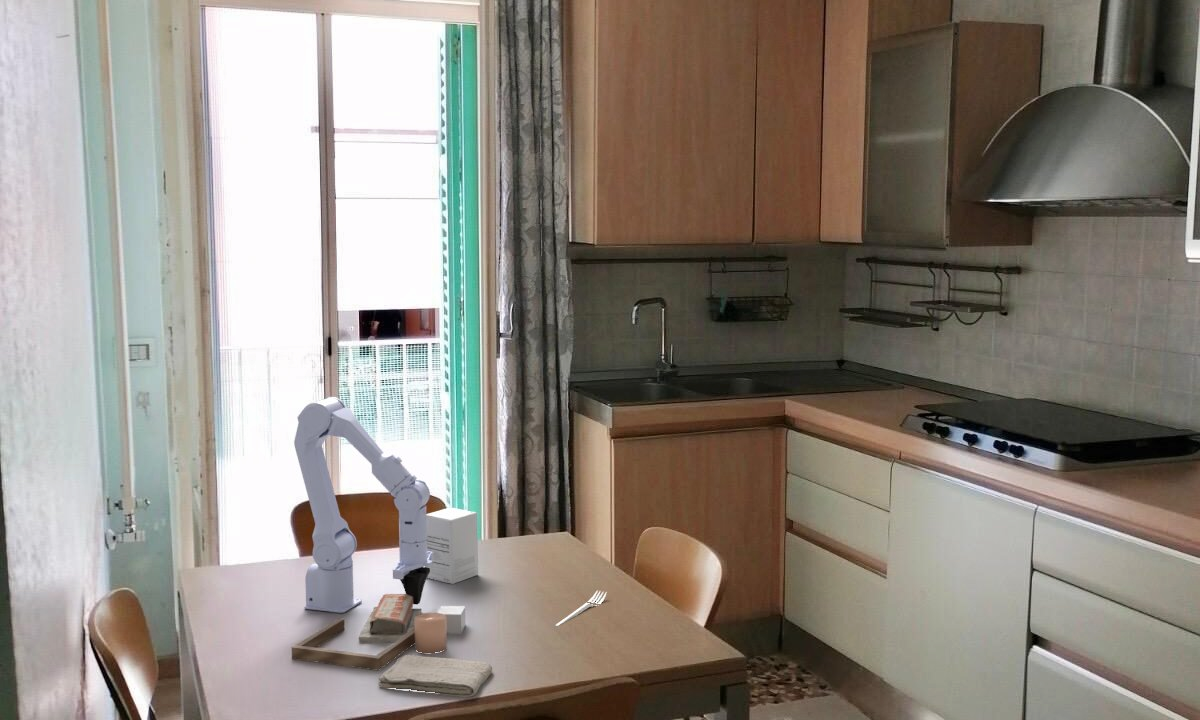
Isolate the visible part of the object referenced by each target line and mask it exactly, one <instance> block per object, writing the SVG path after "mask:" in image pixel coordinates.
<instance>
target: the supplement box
mask: <svg viewBox="0 0 1200 720" xmlns="http://www.w3.org/2000/svg"><path fill="white" fill-rule="evenodd" d="M426 517H427V551H431V552H433V561H432V565H430V566H424V567H427V568H430V573H429V574H428V576H427V578H426V579H429V578H430V579H431V580H433V579H434V581H438V582H442V583H446V584H447V583H448V584H451V585H455V584H457V583H459V582H461V581H462V582H463V581H465V580H467V579H470V578H473V577H475V576H478V575H479V546H478V545H479V543H478V541H479V540H478V539H479V538H478V512H476V511H472V510H471V511H469V510H465V509H461V508H457V507H447V508H443V509H440V510H437V511H433V512H430V513H429V512H428V513H426Z"/></svg>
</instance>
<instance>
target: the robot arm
mask: <svg viewBox="0 0 1200 720" xmlns="http://www.w3.org/2000/svg"><path fill="white" fill-rule="evenodd" d="M297 422H298V424H297V427H296V428H297V429H296V432H295V436H294V441H293V442H294V443H293V444H294V449H295V452H296V456H297V459H298V463H299V467H300V471H301V475H302V478H303V484H304V486H305V490H306V495H307V498H308V501H309V505H310V509H311V512H312V513H311V514H312V517H313V520H314V524H315V525H314V529H313V532H312V543H313V548H312V558H313V562H315V563H312V564H310V565H309V566H308V569H307V570H306V574H305V605H304V606H303V609H305V610H314V611H323V612H330V613H338V614H339V613H340V614H343V613H346V612H347V611H349V610H351V609H352V608H354V607H356V606H357V605H359V604H360V603H362V602H363V601H362V600H363V599H359V598H355V597H354V562H353V558H352V556H353V555H354V553H355V552H356V550H357V546H358V541H357V538H356V536H355V534H354V533H353V532H352V531H351V530H350V527H349V525H348V521H346V520H345V519H344V518H343V517H342V516H341V513H340V509H339V504H338V501H337V499H336V494H335V490H334V487H333V483H332V480H331V479H332V478H331V475H330V471H329V467H328V463H327V461H326V460H327V459H326V456H325V453H324V449H323V444H324V443H325V442H326V440H327V438H328V437H329V436H330V437H331V436H332V437H338V438H344V439H345V440H346V441H347V442H348V443H349V444H350V445H351V446H353V447H354V448H355V449H356V450H357V451H358V452H359V453H360V454H361V456H363V457H364V458H365V459H366V460H367V461H368V462H369V463H370V465H371V474H372V475H373V476H374V477H375V478H376V479H377V480H378V482H379V483H380V484H381V485H382V486H383V487H384V488H385V489H386V490H387V491H388V492H389V493H390V495H391V496H392V497H394V499H393V503H394V505H395V508H396V509H397V510H398V534H399V535H398V537H399V540H398V544H399V548H398V549H399V560H398V561H397V563H396V566H395V568H393V569H392V579H393V580H399V581H400V582H401V585H402V587H403V589H404V592H405V594H408V595H410V596H412V597H413V605H419V604H420V603H421V599H422V595H423V592H424V591H423V590H424V586H425V584H426V581H427V579H428V578H427V576H428V574H429V573H430V568H427V567H425V566H430V565H432V561H433V552H431V551H427V517H426V514H427V505H426V504H427V503H428V502H429V500H430V496H431V493H430V491H431V490H430V489H429V487H428V485H427V483H426V482H425V481H423V480H422V479H418V477H417V476H415V475H412V474H411V473H410V471H409V470H408V469H407V468H406V467H405V466H404V465H403V464H402V462H403V460H402V459H401V458H400V457H399V456H395V455H394V454H393V453H385V452H383V450H382V449H381V448H380V447H379V445H378V444H377V442H375V440H374V439H373V438H372V437H371V435H370V434H369V433H368V432H367V430H366V429H365V428H364V427H363V425H362V424H361V423H360V422H359V420H358V419H356V416H355V414H354V412H353V411H352V410H351V409H350V408H349V407H347V406H346V405H345V403H344V402H343V401H342V400H341V399H340V398H338V397H335V396H329V397H326V398H324V399H322V400H319V401H316V402H311V403H308V404H307V405H306V406H305V407H304V408H303V409H302V410H301V411H300V413H299V414H298V415H297Z"/></svg>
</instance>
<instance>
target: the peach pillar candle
mask: <svg viewBox="0 0 1200 720" xmlns="http://www.w3.org/2000/svg"><path fill="white" fill-rule="evenodd" d="M414 623H415V644H414V651H415V650H417V651H418V652H422V653H435V652H440V651H443V650H445V649H446V648H447V649H448V645H447V643H448V641H447V638H448V636H447V634H448V633H447V627H446V616H445V615H444V614H441V613H437V612H424V613H420V615H418V616H416V617H415V618H414ZM447 649H446V650H447ZM446 650H445V651H446ZM418 652H417V653H418ZM443 652H444V651H443ZM440 653H441V652H440Z"/></svg>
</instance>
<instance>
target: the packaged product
mask: <svg viewBox="0 0 1200 720" xmlns="http://www.w3.org/2000/svg"><path fill="white" fill-rule="evenodd" d="M413 606H414V604H413V597H412V596H410V595H408V594H406V593H389V594H388V593H385V594H383V595H382V597H381V599H380V600H379V602H378V604H377V606H375V607H373V609H372V611H371V613H370V614H369V617H368V618H367V620H366V622H365V624H364V626H363V627H362V629H361V631H360V633H359V634H358V641H359V643H394V642H395V641H397V640H398V639H400V638H401V637H402V636H404V635H405V634H407V633H408V632H410V631H411V630H412V629H414V628H415V623H414V618H415V617H416V616H418V615H420V614H421V613H422V610H423V609H422V608H413Z"/></svg>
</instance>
